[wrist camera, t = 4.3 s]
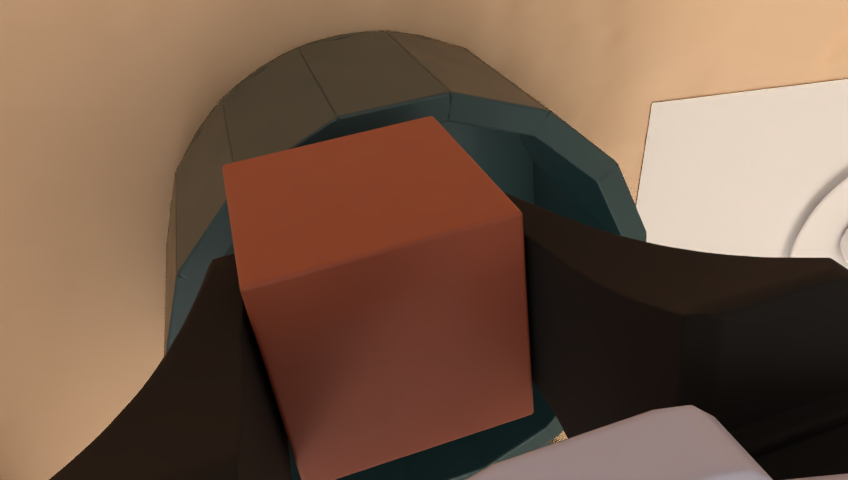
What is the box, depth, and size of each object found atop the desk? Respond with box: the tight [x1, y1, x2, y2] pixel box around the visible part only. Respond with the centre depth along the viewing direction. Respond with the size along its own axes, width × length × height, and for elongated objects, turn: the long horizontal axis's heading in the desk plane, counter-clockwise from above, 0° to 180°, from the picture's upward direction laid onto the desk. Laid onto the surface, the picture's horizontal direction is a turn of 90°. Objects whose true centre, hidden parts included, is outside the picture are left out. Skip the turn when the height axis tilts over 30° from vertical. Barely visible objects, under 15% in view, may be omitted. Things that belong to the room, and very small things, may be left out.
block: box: [222, 116, 534, 480], centre depth 13 cm, size 4×4×4 cm
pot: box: [164, 31, 647, 480], centre depth 21 cm, size 13×13×6 cm
